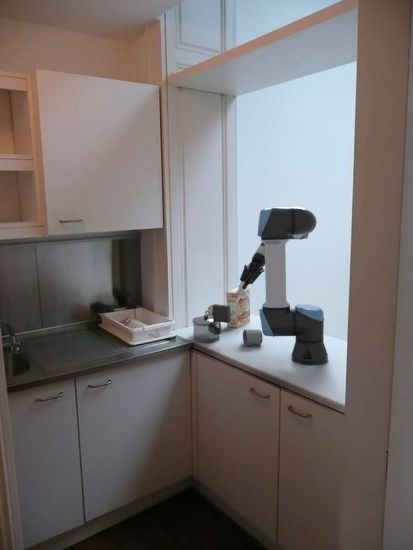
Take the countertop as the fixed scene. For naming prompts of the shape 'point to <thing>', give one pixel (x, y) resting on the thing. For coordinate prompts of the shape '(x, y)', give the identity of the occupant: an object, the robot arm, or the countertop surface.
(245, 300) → the coffeecake box
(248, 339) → the ceramic mug
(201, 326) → the pot
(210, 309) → the character mug
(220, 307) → the lid
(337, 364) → the countertop surface
